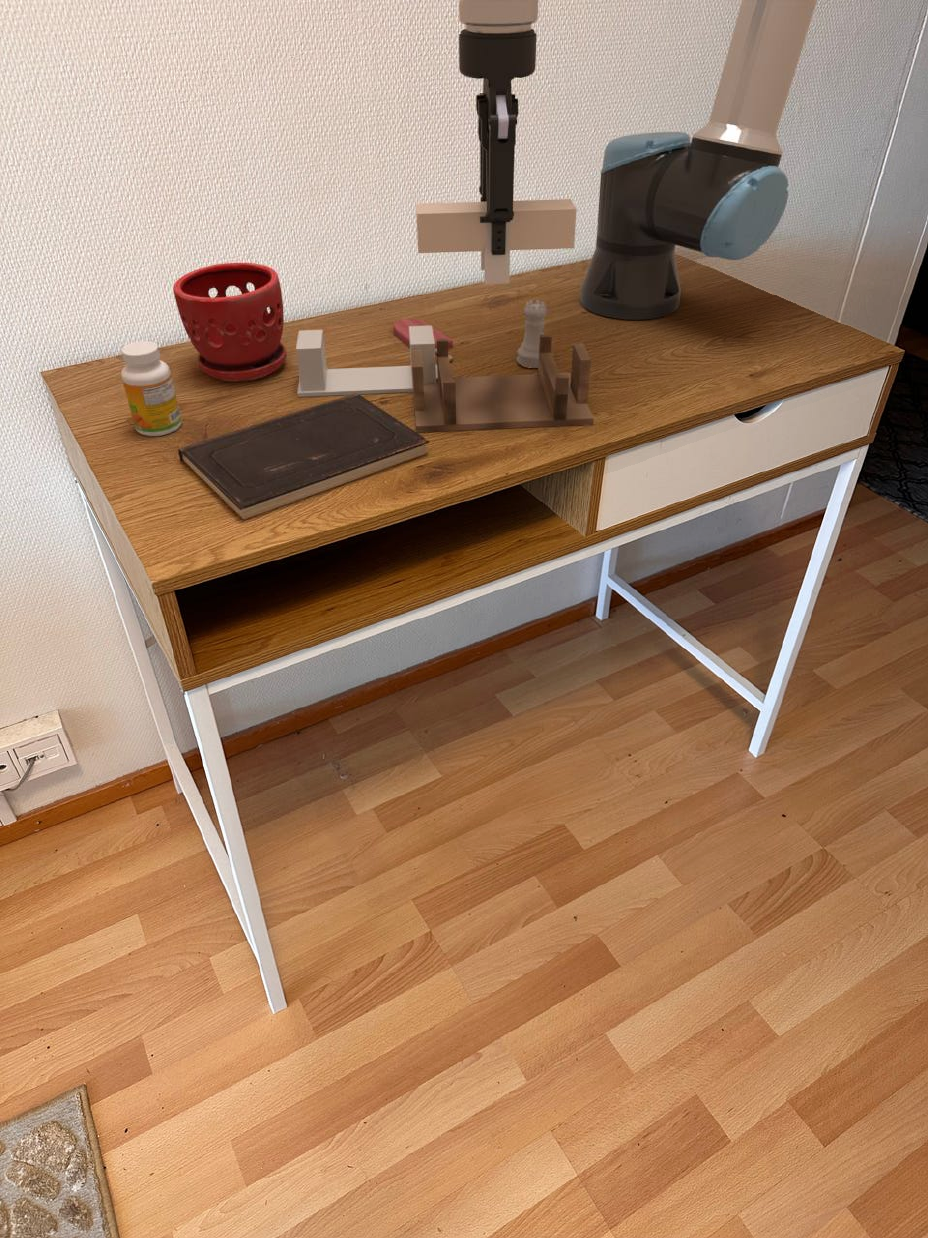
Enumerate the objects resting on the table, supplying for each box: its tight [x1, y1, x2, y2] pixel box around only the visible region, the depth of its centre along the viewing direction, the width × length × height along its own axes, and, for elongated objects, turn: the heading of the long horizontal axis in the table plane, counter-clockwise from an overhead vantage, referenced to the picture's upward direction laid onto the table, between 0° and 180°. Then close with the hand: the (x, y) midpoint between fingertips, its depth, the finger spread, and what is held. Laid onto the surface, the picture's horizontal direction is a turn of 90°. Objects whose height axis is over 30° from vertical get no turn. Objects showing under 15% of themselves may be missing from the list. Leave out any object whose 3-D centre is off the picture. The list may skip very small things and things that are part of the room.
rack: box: [411, 333, 595, 433], centre depth 107 cm, size 21×13×6 cm, turn 95°
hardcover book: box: [177, 393, 430, 520], centre depth 98 cm, size 16×23×2 cm
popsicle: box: [392, 318, 454, 362], centre depth 123 cm, size 5×2×15 cm
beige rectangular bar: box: [415, 198, 578, 254], centre depth 96 cm, size 17×4×4 cm, turn 94°
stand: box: [295, 324, 438, 398], centre depth 112 cm, size 18×7×6 cm, turn 95°
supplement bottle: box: [120, 340, 182, 437], centre depth 101 cm, size 5×5×10 cm
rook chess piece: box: [516, 299, 549, 368], centre depth 116 cm, size 4×4×8 cm
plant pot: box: [172, 262, 287, 382], centre depth 114 cm, size 13×13×12 cm
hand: (494, 274), depth 99 cm, fingers closed on beige rectangular bar, 4 cm apart
